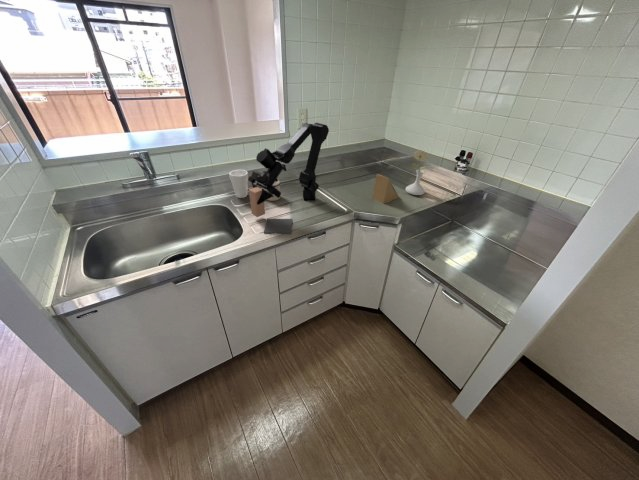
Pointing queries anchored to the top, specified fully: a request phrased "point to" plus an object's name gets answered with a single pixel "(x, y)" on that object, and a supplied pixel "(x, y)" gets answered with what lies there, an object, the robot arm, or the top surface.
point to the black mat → (278, 226)
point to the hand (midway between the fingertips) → (254, 202)
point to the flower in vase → (416, 187)
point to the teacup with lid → (277, 186)
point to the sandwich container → (384, 190)
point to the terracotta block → (254, 198)
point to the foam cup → (239, 182)
